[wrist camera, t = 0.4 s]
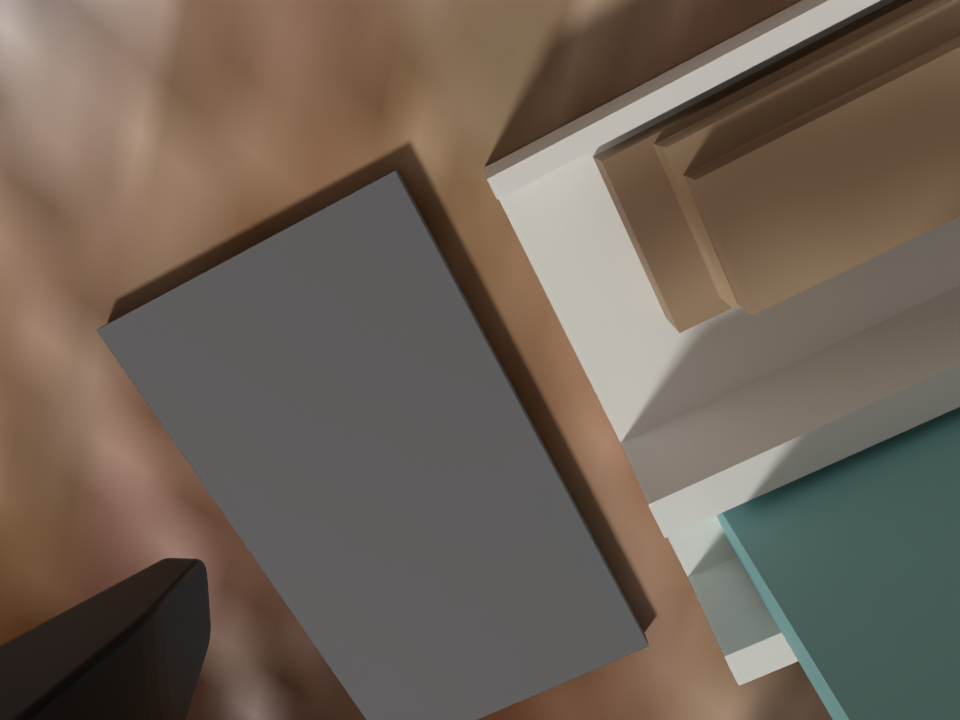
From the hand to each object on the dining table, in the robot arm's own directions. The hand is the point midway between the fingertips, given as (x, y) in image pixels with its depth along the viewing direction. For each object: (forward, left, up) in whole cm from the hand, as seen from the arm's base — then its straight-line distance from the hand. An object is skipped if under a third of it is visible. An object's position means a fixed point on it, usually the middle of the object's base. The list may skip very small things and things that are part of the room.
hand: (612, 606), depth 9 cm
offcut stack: (+1, -8, -13) cm, 15 cm away
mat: (-3, +6, -14) cm, 15 cm away
